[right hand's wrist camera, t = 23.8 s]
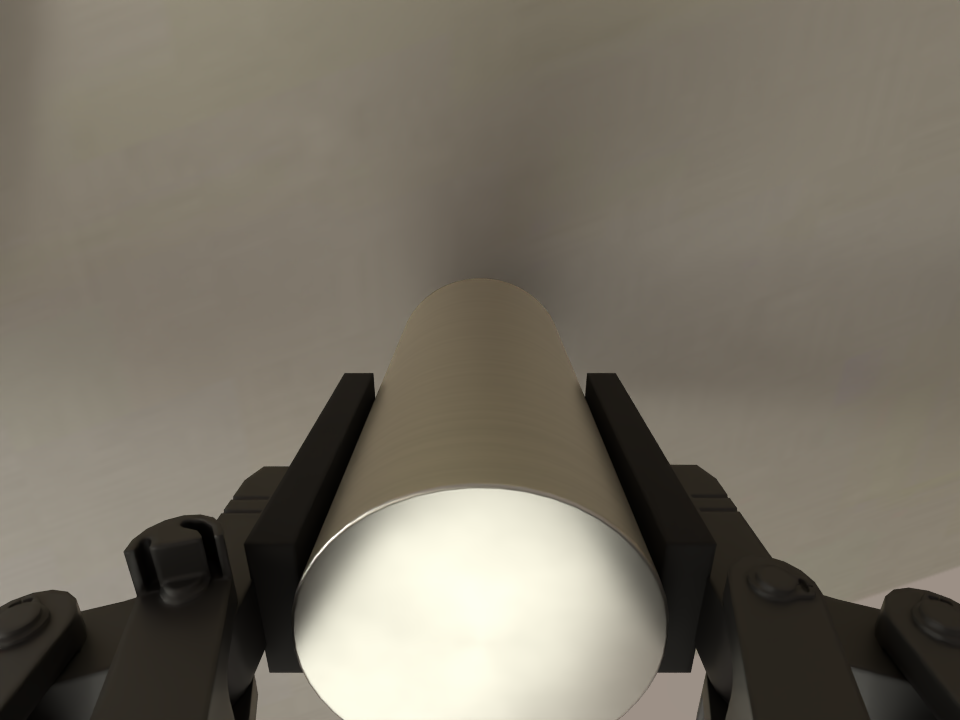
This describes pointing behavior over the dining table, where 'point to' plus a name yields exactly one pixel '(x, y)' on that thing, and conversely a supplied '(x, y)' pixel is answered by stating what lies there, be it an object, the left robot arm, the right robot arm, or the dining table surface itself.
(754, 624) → the right robot arm
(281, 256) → the dining table surface
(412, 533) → the canister
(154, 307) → the dining table surface
